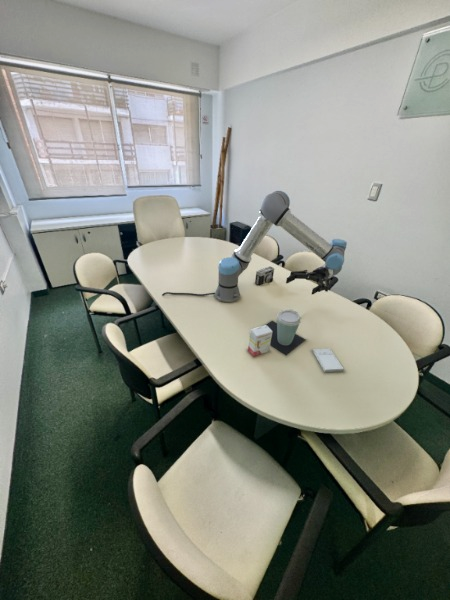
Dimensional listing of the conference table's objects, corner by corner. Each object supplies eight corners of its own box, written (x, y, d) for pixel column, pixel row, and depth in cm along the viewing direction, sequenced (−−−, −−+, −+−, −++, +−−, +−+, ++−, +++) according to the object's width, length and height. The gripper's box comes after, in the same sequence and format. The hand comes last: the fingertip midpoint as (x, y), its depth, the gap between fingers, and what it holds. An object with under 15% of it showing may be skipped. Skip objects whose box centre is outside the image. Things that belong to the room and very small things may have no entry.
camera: (263, 288, 160) (265, 274, 155) (254, 283, 165) (255, 270, 160) (277, 282, 168) (279, 269, 163) (268, 278, 173) (269, 265, 168)
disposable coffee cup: (282, 351, 108) (288, 324, 100) (267, 337, 116) (272, 311, 108) (300, 344, 113) (306, 317, 105) (284, 331, 121) (289, 305, 113)
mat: (252, 333, 119) (252, 333, 119) (272, 321, 128) (272, 320, 128) (286, 355, 107) (286, 354, 106) (305, 340, 116) (305, 339, 116)
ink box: (253, 357, 105) (256, 336, 99) (247, 350, 109) (249, 329, 103) (269, 351, 108) (273, 330, 102) (263, 344, 112) (266, 324, 106)
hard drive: (324, 372, 99) (312, 351, 110) (343, 371, 100) (329, 350, 110) (325, 369, 98) (313, 348, 109) (344, 368, 99) (330, 347, 109)
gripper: (343, 289, 118) (322, 304, 105) (299, 272, 133) (276, 283, 120) (348, 275, 114) (327, 289, 101) (302, 259, 129) (278, 269, 116)
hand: (299, 286), depth 111 cm, fingers open, 13 cm apart
